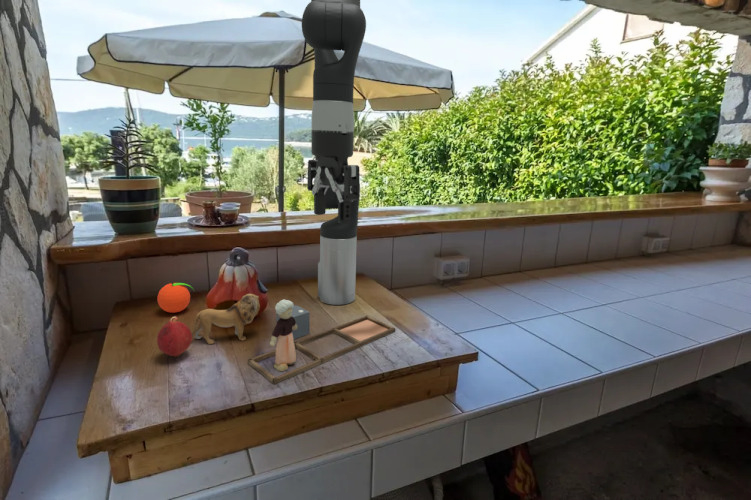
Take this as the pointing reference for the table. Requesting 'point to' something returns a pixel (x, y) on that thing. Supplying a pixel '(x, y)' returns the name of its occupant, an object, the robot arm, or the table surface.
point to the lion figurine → (227, 317)
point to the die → (300, 321)
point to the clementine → (174, 297)
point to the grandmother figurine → (284, 336)
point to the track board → (354, 332)
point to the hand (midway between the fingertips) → (331, 218)
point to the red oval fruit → (174, 337)
